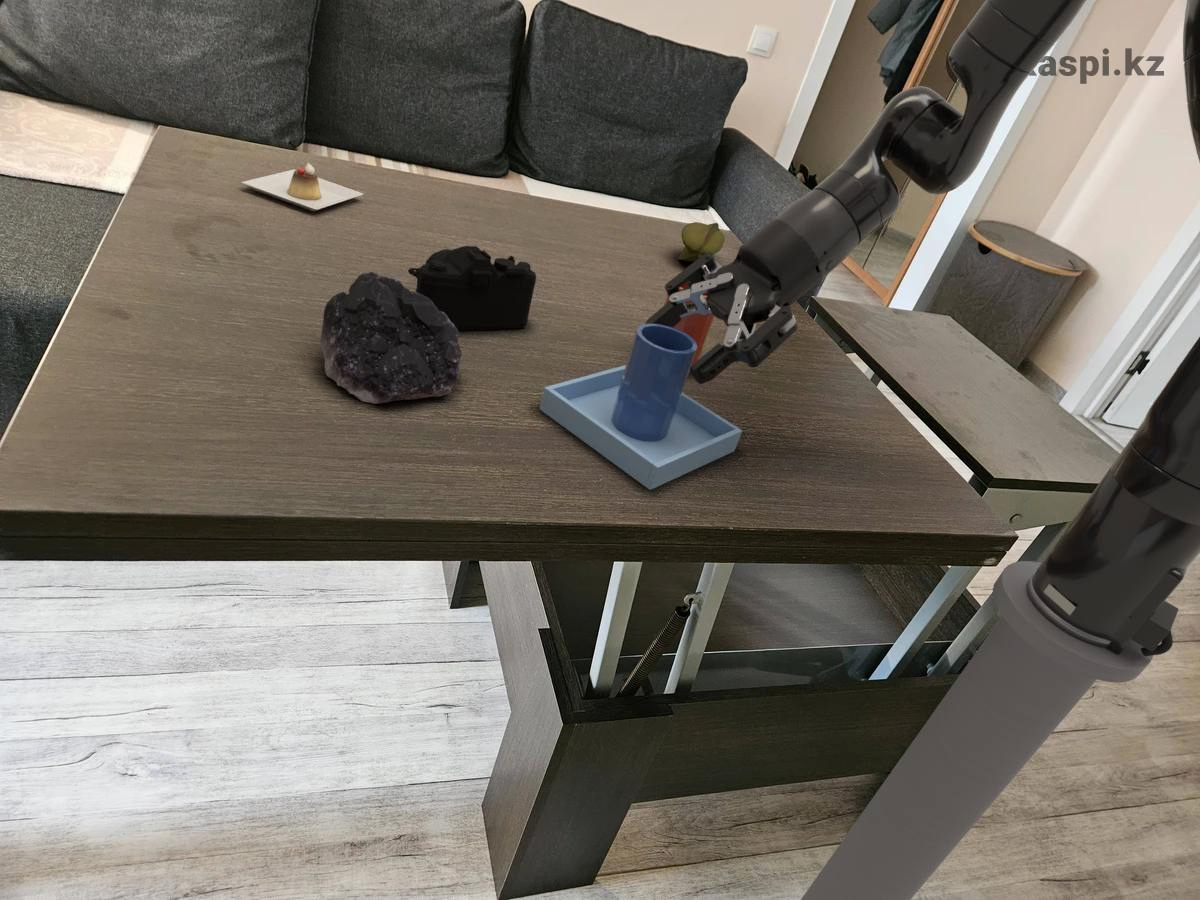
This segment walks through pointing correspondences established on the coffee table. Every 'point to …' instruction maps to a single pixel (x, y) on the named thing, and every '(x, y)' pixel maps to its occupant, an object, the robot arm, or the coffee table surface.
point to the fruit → (700, 240)
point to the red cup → (695, 326)
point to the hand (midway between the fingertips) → (670, 355)
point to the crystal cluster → (388, 342)
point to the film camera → (477, 288)
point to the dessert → (302, 189)
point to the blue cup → (653, 381)
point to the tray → (648, 462)
